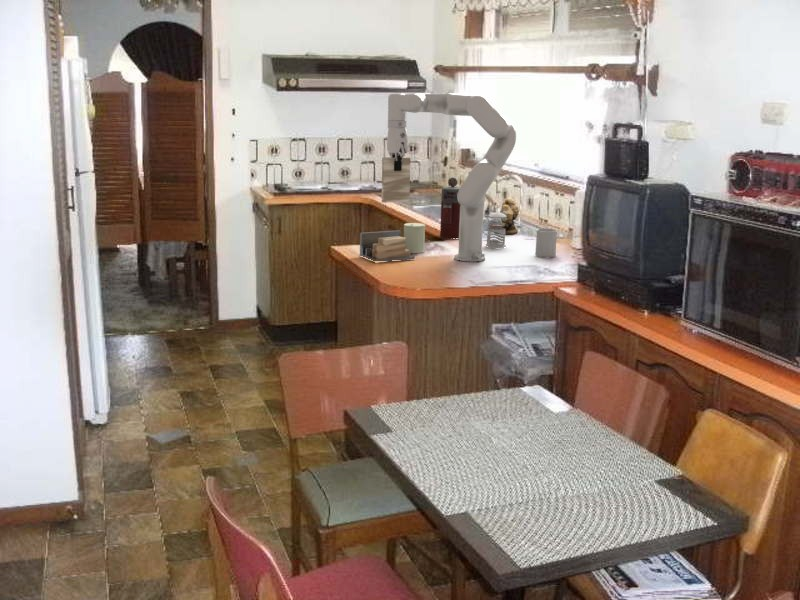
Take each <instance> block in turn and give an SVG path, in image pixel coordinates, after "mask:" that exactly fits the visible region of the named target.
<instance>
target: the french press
mask: <svg viewBox="0 0 800 600" xmlns="http://www.w3.org/2000/svg"><path fill="white" fill-rule="evenodd" d="M495 193H496V194H497V197H499V194H501V193H502V192H501V190H500V189H499V190H497V191H496V192H495ZM496 210H497V211H496V212H492V213H490V214H488V215H487V216H488V218H486V219H483V224H484V223H485V222H486V221H487V222H488V223H489V221H490V219H489V218H493V219H501V218H506V215H505V214H503V213H500V211H499V206H497V209H496ZM488 226H489V227H488V228H487V233H485V232H484V231H482V234H483V235H485V236H486V244H485V245H486V246H488V247H492V248H491V249H496V248H501V249H505V248H504V247H506V246H507V244H506V235H505V228H502V227H504V226H505V225H504V224H502V223H495V222H494V223H489V224H488ZM494 229H495V230H494ZM494 232H495V233H494ZM496 233H497V234H496ZM488 247H487V248H488ZM506 248H507V247H506Z"/></svg>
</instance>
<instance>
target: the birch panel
mask: <svg viewBox="0 0 800 600" xmlns="http://www.w3.org/2000/svg"><path fill="white" fill-rule="evenodd" d="M394 161H395V158H391V157H382V160H381V168H382V169H381V203H383V204H384V203H385V204H386V203H404V202H405V203H406V202H410V201H411V200H410V198H411V197H410V193H411V191H410V190H411V157H408V156H407V157H406V156H404V157H403V158H402V170H401V171H394Z"/></svg>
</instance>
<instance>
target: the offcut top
mask: <svg viewBox="0 0 800 600" xmlns="http://www.w3.org/2000/svg"><path fill="white" fill-rule="evenodd" d="M378 244H379V245H383V246H392V245H401V244H406V238H404V236H401V237H400V236H394V237H385V238H379V241H378Z"/></svg>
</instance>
